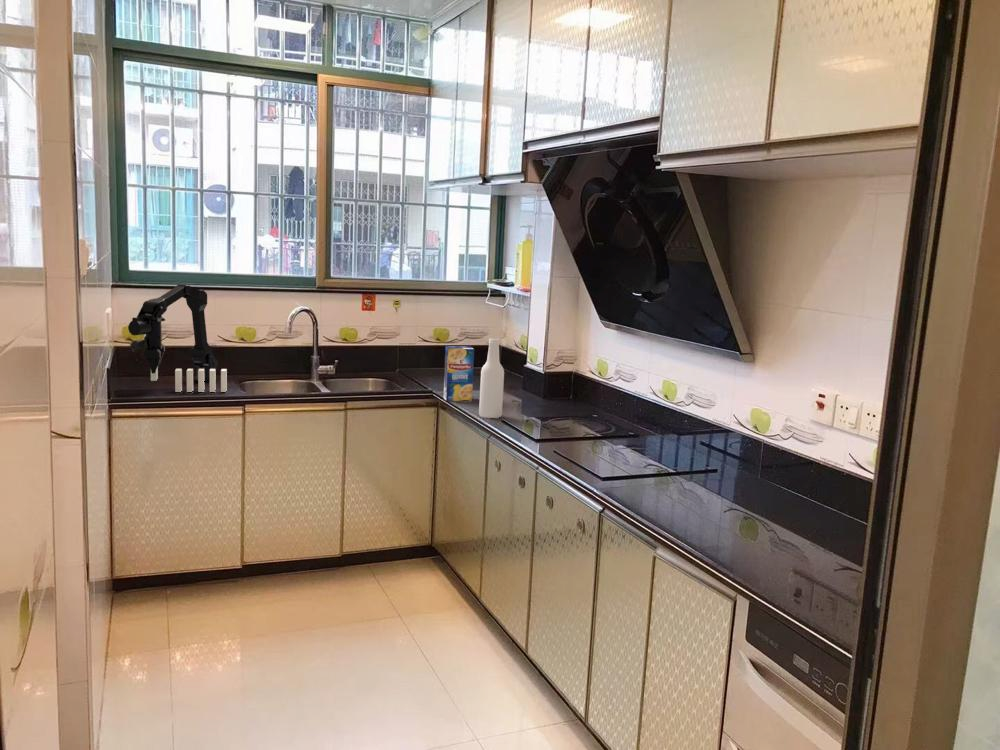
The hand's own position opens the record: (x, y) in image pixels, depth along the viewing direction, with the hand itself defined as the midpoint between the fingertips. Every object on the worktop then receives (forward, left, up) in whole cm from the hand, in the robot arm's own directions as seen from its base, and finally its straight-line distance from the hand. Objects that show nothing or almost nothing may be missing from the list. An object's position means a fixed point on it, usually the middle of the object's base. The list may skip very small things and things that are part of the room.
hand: (154, 372), depth 322 cm
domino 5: (-18, +13, -8) cm, 23 cm away
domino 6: (-21, +15, -8) cm, 27 cm away
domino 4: (-14, +10, -8) cm, 19 cm away
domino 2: (-7, +5, -8) cm, 12 cm away
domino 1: (0, 0, -3) cm, 3 cm away
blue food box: (-88, +83, -8) cm, 121 cm away
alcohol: (-75, +112, -8) cm, 135 cm away
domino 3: (-11, +8, -8) cm, 15 cm away
